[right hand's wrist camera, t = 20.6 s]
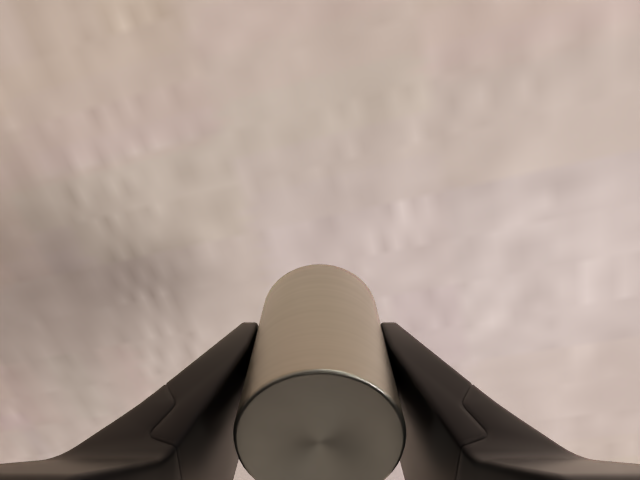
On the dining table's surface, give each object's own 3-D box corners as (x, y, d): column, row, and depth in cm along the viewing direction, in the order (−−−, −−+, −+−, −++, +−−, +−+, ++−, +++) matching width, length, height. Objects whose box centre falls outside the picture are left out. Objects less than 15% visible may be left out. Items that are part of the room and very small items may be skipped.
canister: (295, 243, 12) (280, 342, 7) (397, 294, 12) (442, 415, 8) (245, 333, 13) (204, 468, 8) (341, 376, 13) (351, 523, 9)
